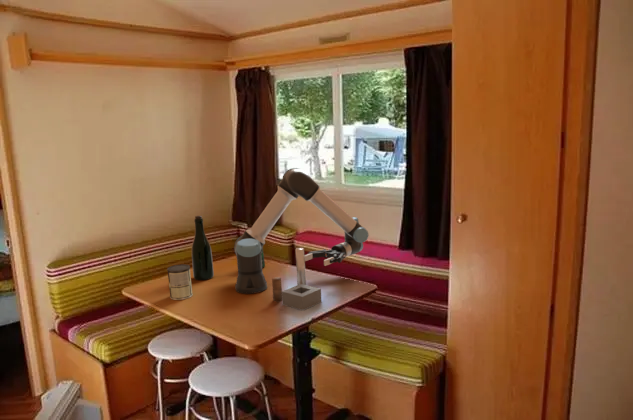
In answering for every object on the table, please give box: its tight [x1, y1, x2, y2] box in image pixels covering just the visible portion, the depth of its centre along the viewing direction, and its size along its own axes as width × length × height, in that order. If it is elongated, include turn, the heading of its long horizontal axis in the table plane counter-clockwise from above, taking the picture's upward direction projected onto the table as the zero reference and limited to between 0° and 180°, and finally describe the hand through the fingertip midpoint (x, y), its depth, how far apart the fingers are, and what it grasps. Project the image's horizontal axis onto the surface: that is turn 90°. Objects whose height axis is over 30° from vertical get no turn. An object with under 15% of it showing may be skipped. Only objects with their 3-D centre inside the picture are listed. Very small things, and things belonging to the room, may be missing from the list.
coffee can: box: [166, 263, 194, 301], centre depth 233 cm, size 10×10×14 cm
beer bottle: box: [191, 215, 215, 281], centre depth 259 cm, size 10×10×33 cm
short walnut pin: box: [271, 276, 283, 303], centre depth 223 cm, size 4×4×10 cm
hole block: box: [282, 284, 322, 311], centre depth 217 cm, size 12×12×6 cm
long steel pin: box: [294, 247, 307, 286], centre depth 234 cm, size 4×4×20 cm
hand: (313, 261), depth 240 cm, fingers open, 13 cm apart
